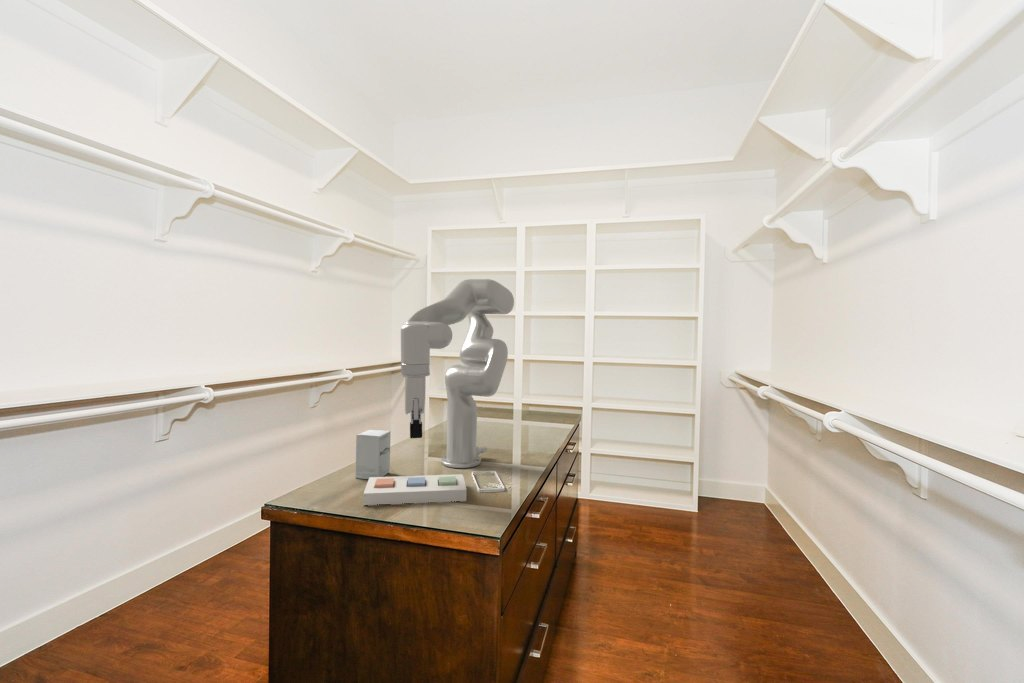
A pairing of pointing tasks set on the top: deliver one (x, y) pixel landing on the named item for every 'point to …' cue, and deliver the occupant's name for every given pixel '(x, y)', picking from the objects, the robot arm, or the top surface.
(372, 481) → the button panel
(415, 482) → the button slate
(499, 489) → the white rectangular frame
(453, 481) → the button sage
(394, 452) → the top surface
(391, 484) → the button terracotta
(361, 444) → the supplement box
